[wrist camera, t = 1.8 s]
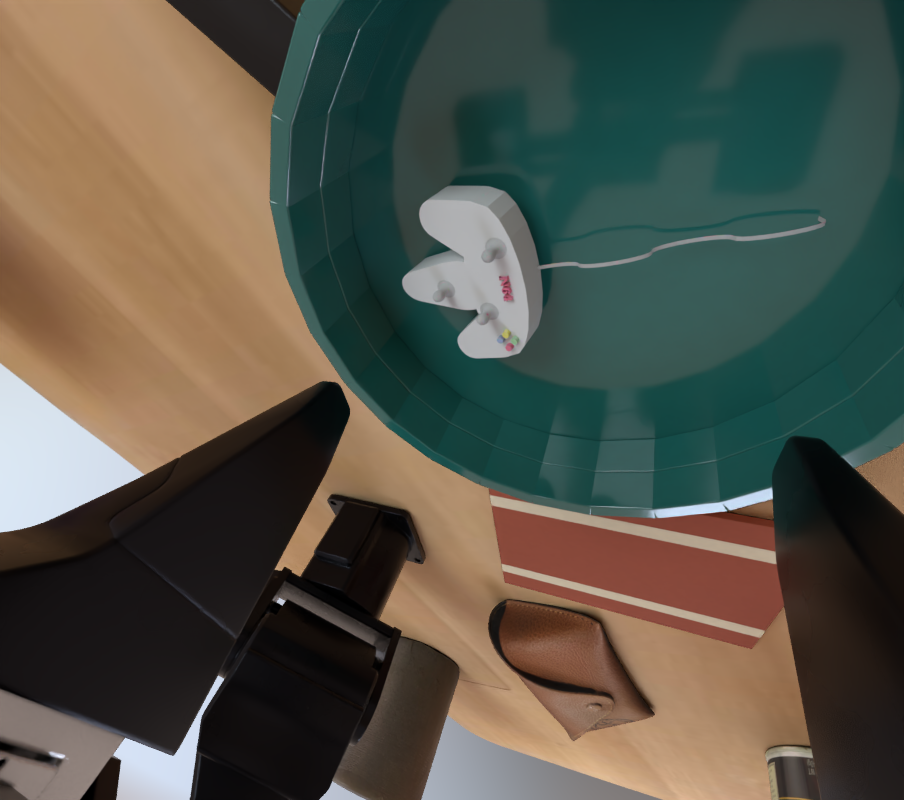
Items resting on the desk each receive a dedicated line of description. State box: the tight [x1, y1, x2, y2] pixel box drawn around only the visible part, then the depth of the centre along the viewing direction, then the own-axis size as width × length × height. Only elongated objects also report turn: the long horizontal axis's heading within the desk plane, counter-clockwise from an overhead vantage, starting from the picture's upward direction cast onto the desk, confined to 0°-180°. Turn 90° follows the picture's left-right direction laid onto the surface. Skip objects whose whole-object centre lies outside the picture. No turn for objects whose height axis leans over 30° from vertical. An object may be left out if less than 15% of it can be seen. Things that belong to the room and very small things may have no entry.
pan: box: [270, 0, 904, 518], centre depth 13 cm, size 18×18×4 cm
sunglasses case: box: [488, 599, 655, 741], centre depth 35 cm, size 18×7×7 cm, turn 31°
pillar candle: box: [332, 637, 459, 800], centre depth 47 cm, size 10×10×15 cm
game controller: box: [402, 186, 826, 358], centre depth 12 cm, size 6×12×3 cm, turn 125°
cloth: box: [489, 488, 784, 649], centre depth 25 cm, size 12×15×1 cm
